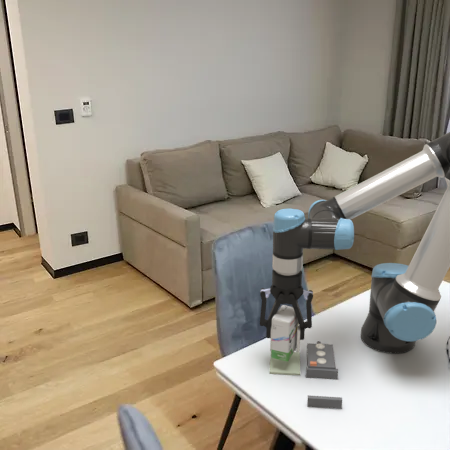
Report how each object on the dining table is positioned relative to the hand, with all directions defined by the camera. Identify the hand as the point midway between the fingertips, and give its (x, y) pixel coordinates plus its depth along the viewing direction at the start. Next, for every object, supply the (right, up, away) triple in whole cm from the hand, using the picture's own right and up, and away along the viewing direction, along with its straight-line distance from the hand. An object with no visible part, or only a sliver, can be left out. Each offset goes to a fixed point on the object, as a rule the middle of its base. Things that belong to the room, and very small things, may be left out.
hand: (284, 348), depth 138 cm
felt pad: (0, -4, +2) cm, 5 cm away
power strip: (+9, -6, -3) cm, 11 cm away
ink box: (0, -1, 0) cm, 1 cm away
